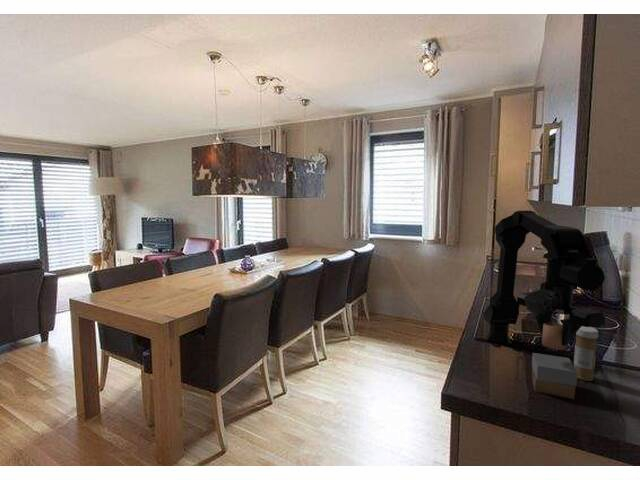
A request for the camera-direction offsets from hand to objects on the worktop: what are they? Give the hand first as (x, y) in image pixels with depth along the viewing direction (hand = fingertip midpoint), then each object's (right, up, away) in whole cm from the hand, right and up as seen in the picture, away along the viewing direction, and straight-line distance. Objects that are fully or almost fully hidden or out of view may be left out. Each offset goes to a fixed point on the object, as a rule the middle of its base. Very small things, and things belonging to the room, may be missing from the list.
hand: (554, 341), depth 88 cm
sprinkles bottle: (+11, -11, +6) cm, 17 cm away
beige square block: (0, -12, +1) cm, 12 cm away
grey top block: (0, -9, 0) cm, 9 cm away
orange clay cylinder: (0, -1, 0) cm, 1 cm away
